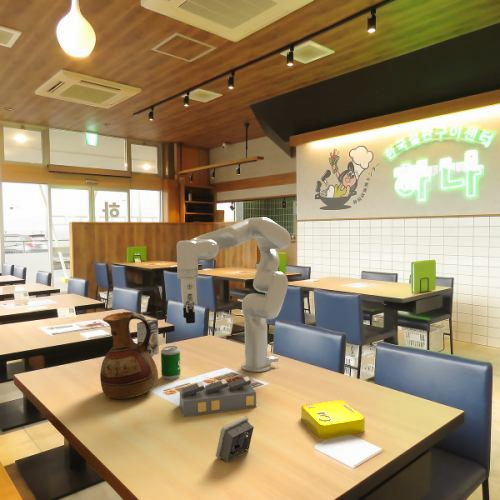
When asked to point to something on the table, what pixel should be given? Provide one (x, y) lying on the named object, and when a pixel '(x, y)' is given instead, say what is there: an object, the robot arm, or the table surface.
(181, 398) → the switch housing
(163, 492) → the table surface
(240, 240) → the robot arm
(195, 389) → the rocker
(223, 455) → the electrical switch
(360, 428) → the element tile
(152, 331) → the coffee box
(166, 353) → the soda can
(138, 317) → the ceramic pitcher
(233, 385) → the rocker
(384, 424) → the table surface
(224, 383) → the block
